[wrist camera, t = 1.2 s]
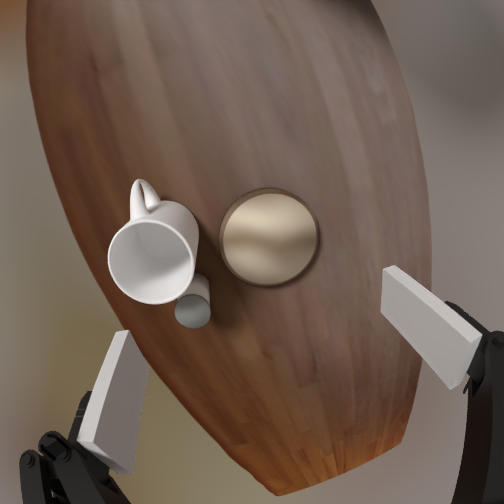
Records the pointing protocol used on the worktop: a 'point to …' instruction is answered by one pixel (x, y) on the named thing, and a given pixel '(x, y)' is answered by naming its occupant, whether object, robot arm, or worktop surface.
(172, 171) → the worktop surface
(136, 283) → the mug
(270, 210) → the beige flat disc
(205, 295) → the spice jar
